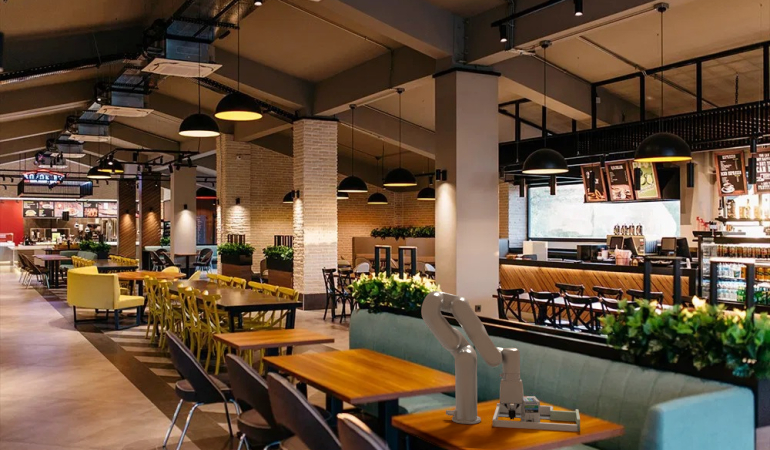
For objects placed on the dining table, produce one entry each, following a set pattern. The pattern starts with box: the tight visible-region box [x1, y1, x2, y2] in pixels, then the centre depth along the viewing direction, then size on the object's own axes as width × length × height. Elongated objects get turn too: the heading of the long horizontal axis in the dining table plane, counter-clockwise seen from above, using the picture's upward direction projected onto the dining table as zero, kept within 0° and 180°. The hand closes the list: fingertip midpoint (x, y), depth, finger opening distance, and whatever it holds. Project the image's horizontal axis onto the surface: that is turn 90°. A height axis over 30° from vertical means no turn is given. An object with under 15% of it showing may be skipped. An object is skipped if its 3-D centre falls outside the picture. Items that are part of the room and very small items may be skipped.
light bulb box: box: [520, 395, 541, 422], centre depth 297 cm, size 11×7×11 cm, turn 179°
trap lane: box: [492, 402, 581, 432], centre depth 300 cm, size 36×25×5 cm
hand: (512, 418), depth 298 cm, fingers closed
